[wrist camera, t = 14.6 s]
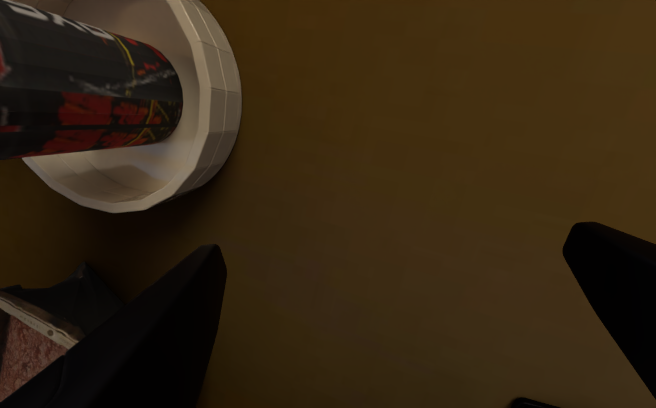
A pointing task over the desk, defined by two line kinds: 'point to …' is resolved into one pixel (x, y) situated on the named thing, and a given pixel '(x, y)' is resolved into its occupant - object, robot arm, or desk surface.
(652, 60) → the desk surface
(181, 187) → the pan
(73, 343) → the baking dish
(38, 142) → the deodorant
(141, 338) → the robot arm
